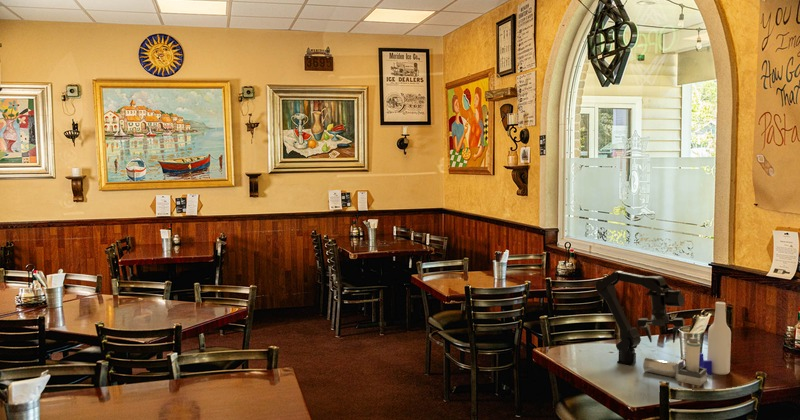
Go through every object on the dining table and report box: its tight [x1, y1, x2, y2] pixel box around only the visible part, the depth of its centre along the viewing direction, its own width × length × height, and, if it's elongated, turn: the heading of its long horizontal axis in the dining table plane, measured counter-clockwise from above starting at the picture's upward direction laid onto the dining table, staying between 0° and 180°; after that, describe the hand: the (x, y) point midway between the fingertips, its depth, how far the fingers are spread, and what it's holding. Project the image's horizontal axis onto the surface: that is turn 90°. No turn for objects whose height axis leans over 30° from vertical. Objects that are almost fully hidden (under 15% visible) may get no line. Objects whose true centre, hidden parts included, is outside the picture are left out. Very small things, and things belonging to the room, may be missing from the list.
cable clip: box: [699, 352, 712, 376], centre depth 285 cm, size 12×4×6 cm, turn 174°
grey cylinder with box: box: [642, 357, 708, 387], centre depth 277 cm, size 24×9×7 cm, turn 50°
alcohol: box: [706, 301, 732, 376], centre depth 282 cm, size 9×9×30 cm
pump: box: [685, 337, 701, 373], centre depth 271 cm, size 5×5×15 cm
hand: (662, 342), depth 284 cm, fingers open, 9 cm apart
